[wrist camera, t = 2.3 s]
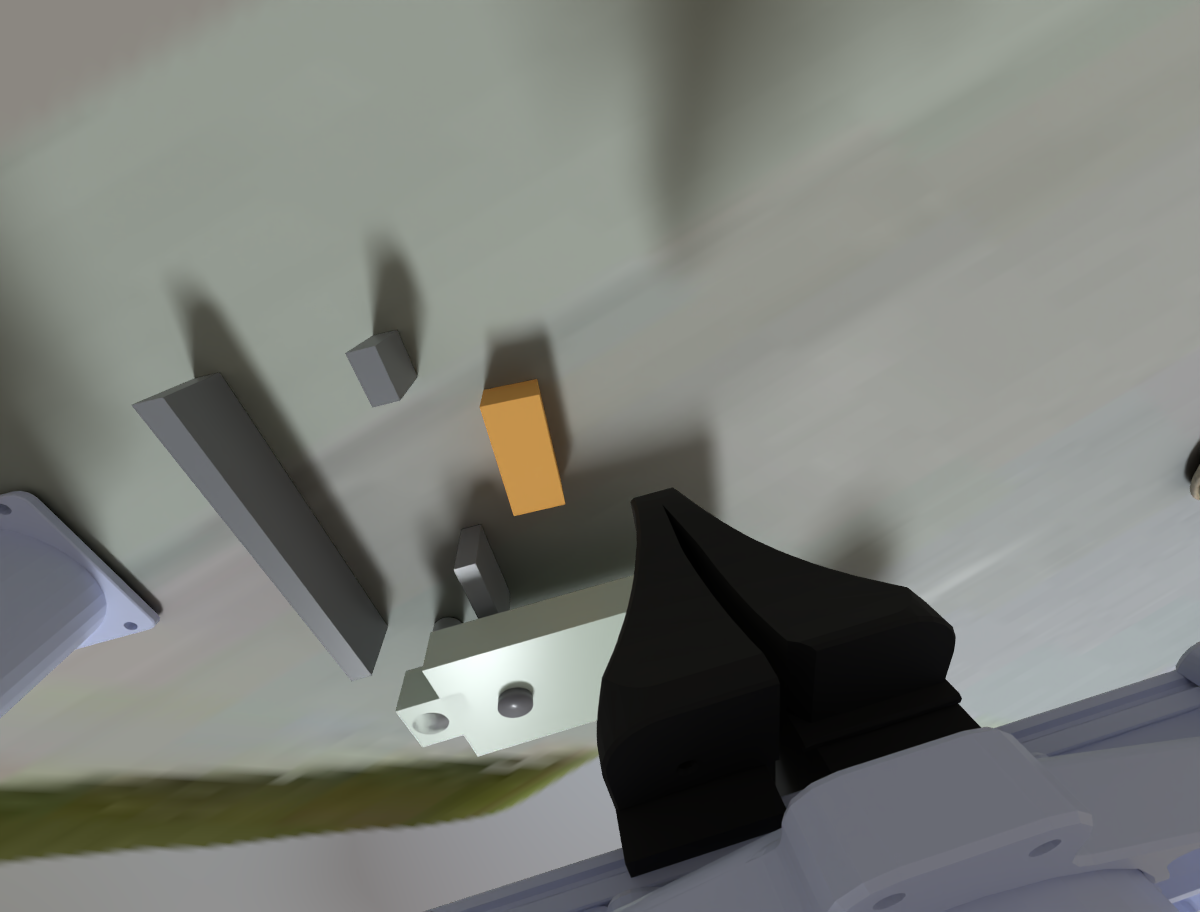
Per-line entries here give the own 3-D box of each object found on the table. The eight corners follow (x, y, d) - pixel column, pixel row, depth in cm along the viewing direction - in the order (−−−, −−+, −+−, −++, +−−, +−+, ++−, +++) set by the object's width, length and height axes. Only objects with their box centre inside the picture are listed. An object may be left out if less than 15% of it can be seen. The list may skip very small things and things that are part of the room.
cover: (405, 589, 23) (371, 693, 17) (673, 515, 23) (717, 593, 18) (453, 669, 26) (437, 777, 21) (686, 602, 27) (726, 689, 22)
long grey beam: (370, 632, 24) (351, 681, 21) (193, 378, 16) (131, 404, 14) (509, 592, 24) (508, 636, 21) (397, 329, 17) (374, 346, 14)
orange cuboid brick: (514, 489, 21) (513, 516, 19) (483, 388, 19) (479, 407, 17) (560, 478, 21) (565, 504, 19) (536, 377, 19) (539, 394, 17)
